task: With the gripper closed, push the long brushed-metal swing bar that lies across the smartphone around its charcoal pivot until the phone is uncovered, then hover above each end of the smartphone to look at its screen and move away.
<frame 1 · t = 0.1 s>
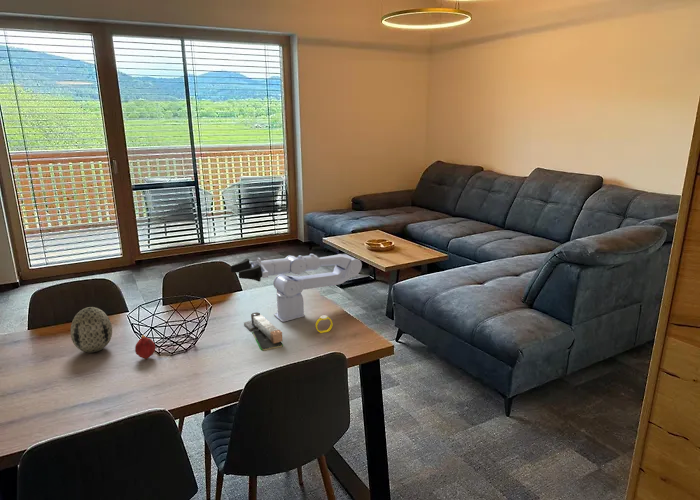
hand: (234, 271, 162), 22 cm above the table, tool horizontal, fingers open, 7 cm apart
decorative egg: (95, 351, 153), on the table
onion: (146, 359, 148), on the table
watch: (324, 332, 166), on the table
swing bar: (265, 326, 163), point 3 cm above the table, hinge at 0.0°
pivot plate: (256, 325, 170), on the table
smartphone: (267, 340, 160), on the table
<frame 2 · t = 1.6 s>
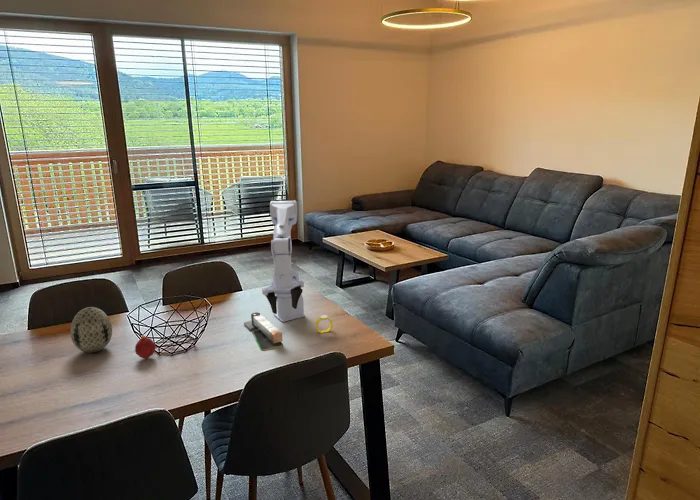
hand: (284, 310, 160), 9 cm above the table, tool pointing down, fingers open, 7 cm apart
nothing on the table moved.
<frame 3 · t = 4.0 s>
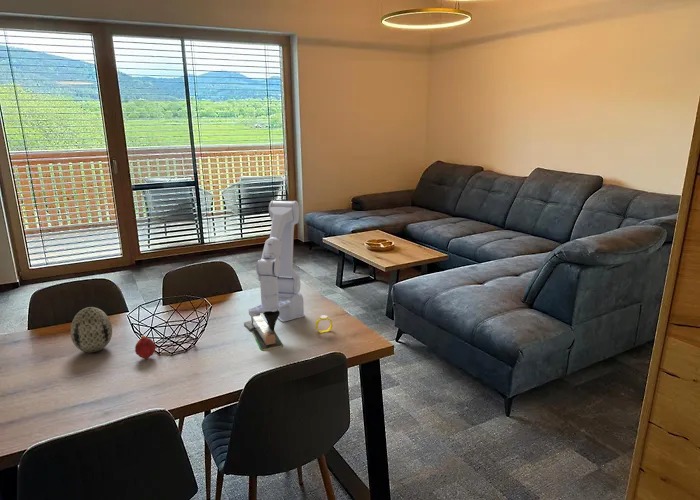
hand: (271, 330, 160), 3 cm above the table, tool pointing down, fingers closed
swing bar: (262, 327, 162), point 3 cm above the table, hinge at -8.0°, touching gripper
everything else where it was.
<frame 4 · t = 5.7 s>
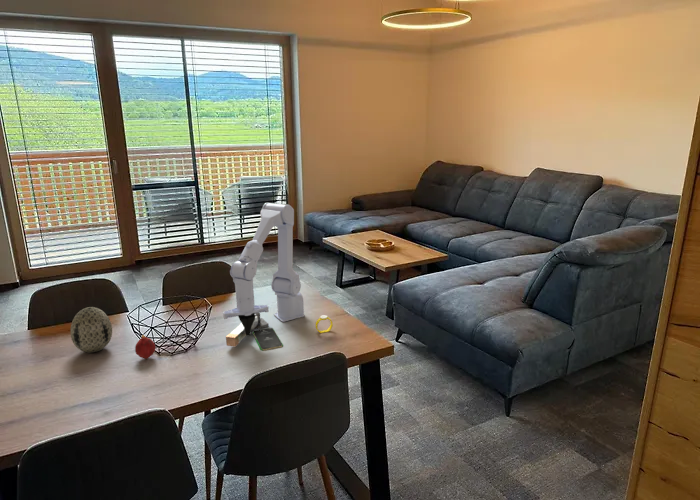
hand: (247, 334, 157), 3 cm above the table, tool pointing down, fingers closed
swing bar: (245, 328, 162), point 3 cm above the table, hinge at -47.9°, touching gripper
everything else where it was.
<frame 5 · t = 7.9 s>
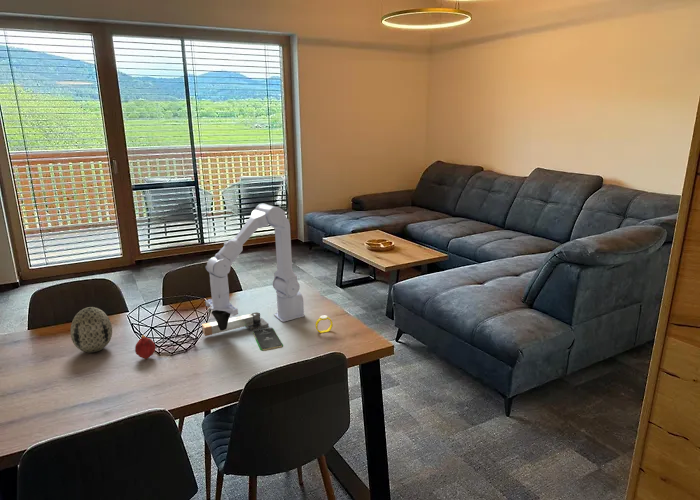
hand: (223, 329, 161), 3 cm above the table, tool pointing down, fingers closed
swing bar: (232, 323, 165), point 3 cm above the table, hinge at -92.4°, touching gripper
everything else where it was.
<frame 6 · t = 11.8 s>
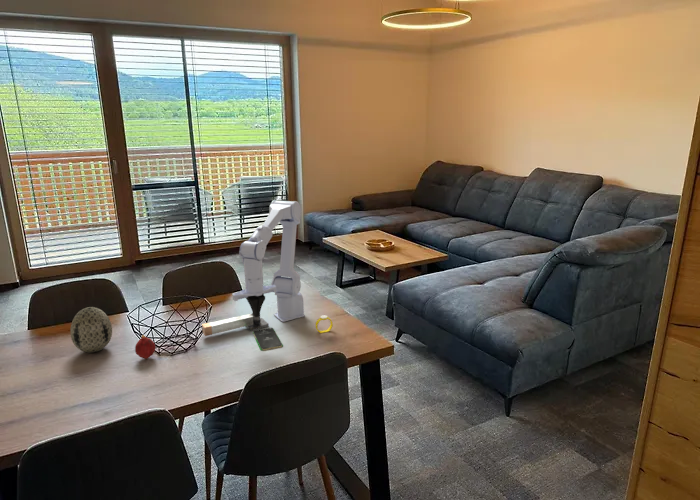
hand: (256, 315, 156), 9 cm above the table, tool pointing down, fingers closed
swing bar: (232, 323, 165), point 3 cm above the table, hinge at -92.4°
everything else where it was.
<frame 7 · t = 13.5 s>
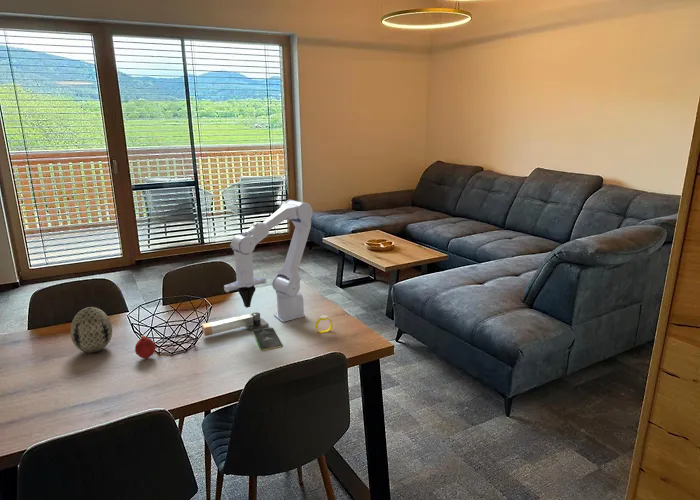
hand: (247, 306, 164), 9 cm above the table, tool pointing down, fingers closed
nothing on the table moved.
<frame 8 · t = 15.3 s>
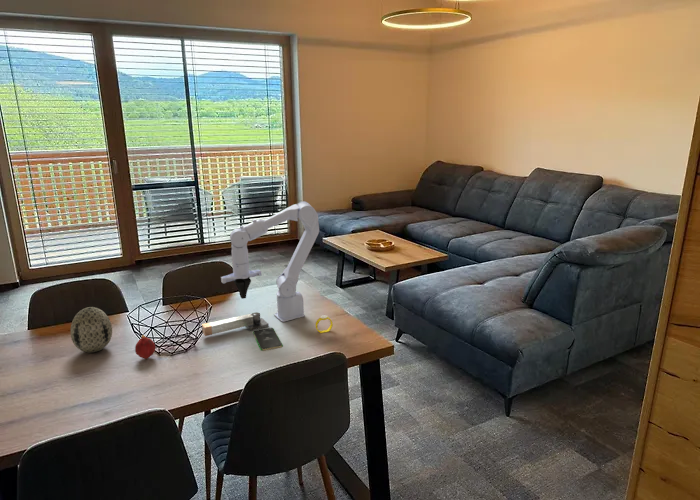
hand: (243, 297, 171), 9 cm above the table, tool pointing down, fingers closed
nothing on the table moved.
at the end: swing bar at -92° (first picture: +0°); smartphone moved 0.6 cm from its start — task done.
